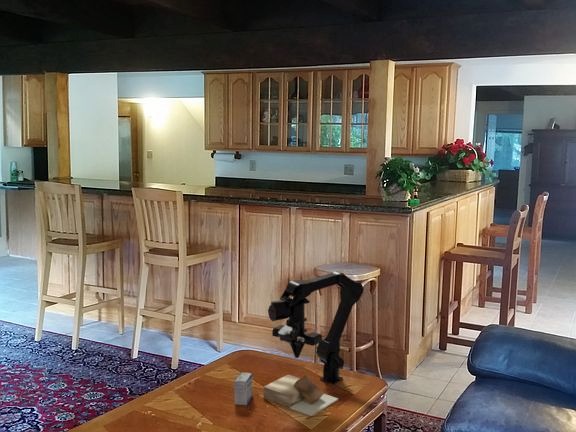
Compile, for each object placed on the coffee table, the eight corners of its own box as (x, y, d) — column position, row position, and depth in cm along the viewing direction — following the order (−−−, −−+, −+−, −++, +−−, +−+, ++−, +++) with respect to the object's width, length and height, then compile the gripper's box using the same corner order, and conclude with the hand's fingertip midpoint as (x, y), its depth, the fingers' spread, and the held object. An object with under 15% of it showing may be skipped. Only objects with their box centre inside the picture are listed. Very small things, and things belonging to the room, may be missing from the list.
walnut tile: (293, 386, 210) (296, 381, 208) (302, 379, 214) (305, 374, 213) (311, 404, 206) (314, 400, 205) (320, 397, 211) (323, 393, 210)
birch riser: (288, 384, 224) (288, 374, 223) (314, 393, 216) (314, 382, 216) (263, 397, 213) (263, 386, 212) (290, 407, 206) (290, 395, 205)
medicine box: (246, 405, 206) (246, 381, 205) (234, 404, 207) (234, 380, 206) (252, 396, 214) (252, 372, 213) (240, 395, 215) (240, 371, 214)
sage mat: (317, 393, 217) (317, 391, 217) (338, 399, 211) (338, 398, 211) (290, 408, 204) (290, 407, 204) (311, 416, 199) (311, 414, 199)
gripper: (262, 317, 216) (263, 358, 218) (304, 326, 205) (305, 370, 207) (281, 309, 225) (281, 349, 227) (322, 318, 214) (323, 360, 216)
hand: (297, 357), depth 219 cm, fingers closed
